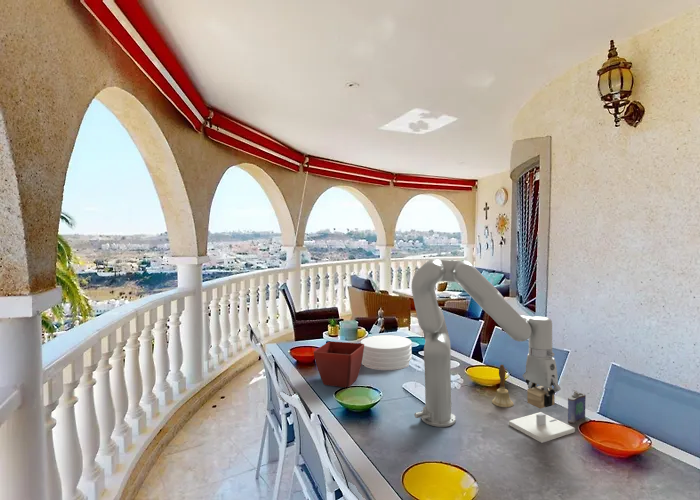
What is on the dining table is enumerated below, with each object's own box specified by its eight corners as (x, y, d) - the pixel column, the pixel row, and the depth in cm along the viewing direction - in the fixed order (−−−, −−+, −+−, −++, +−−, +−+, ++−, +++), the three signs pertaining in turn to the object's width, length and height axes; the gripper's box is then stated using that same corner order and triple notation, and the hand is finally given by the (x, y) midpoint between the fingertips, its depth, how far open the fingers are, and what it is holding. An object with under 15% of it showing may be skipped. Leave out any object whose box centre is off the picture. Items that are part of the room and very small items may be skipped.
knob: (540, 408, 136) (540, 392, 136) (527, 402, 141) (527, 387, 141) (554, 404, 139) (554, 388, 139) (541, 399, 144) (541, 383, 144)
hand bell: (515, 408, 157) (515, 368, 157) (493, 406, 159) (493, 367, 159) (511, 399, 166) (510, 361, 165) (490, 398, 167) (490, 361, 167)
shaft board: (541, 442, 131) (541, 428, 131) (509, 424, 144) (508, 411, 144) (574, 432, 137) (574, 417, 137) (540, 415, 150) (540, 402, 150)
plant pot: (313, 386, 185) (312, 351, 185) (330, 373, 203) (329, 340, 202) (351, 391, 178) (350, 354, 177) (365, 377, 196) (365, 343, 195)
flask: (573, 424, 143) (572, 395, 143) (565, 421, 146) (564, 392, 145) (587, 418, 148) (587, 389, 147) (579, 415, 150) (579, 387, 150)
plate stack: (378, 351, 239) (377, 333, 239) (420, 359, 223) (420, 339, 222) (351, 364, 216) (350, 343, 216) (395, 374, 200) (395, 351, 200)
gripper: (569, 357, 133) (570, 410, 134) (528, 344, 149) (528, 392, 150) (554, 360, 130) (554, 414, 131) (513, 347, 146) (513, 396, 147)
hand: (540, 402), depth 140 cm, fingers closed on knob, 5 cm apart
